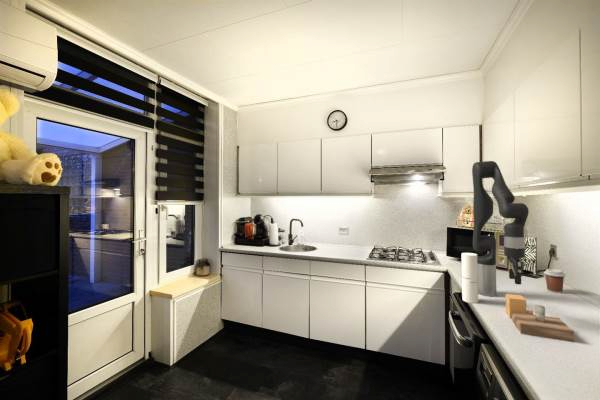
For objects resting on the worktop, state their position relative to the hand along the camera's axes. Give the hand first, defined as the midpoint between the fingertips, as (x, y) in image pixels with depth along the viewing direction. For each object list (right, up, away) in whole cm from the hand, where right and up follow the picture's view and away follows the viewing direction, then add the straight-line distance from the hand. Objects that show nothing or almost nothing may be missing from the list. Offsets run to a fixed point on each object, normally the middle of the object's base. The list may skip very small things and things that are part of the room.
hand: (515, 281), depth 122 cm
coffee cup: (+48, -15, +30) cm, 58 cm away
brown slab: (0, -16, -13) cm, 21 cm away
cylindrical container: (-8, -17, +20) cm, 27 cm away
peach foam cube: (+2, -16, -1) cm, 16 cm away
